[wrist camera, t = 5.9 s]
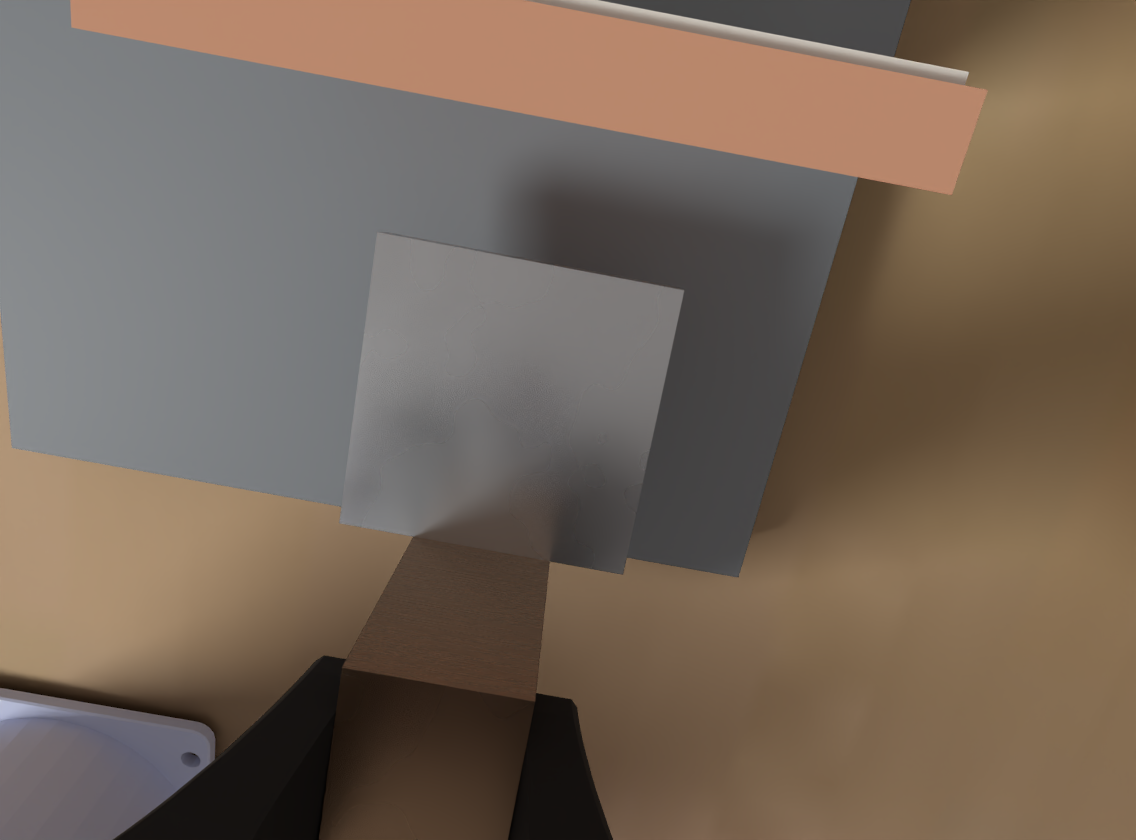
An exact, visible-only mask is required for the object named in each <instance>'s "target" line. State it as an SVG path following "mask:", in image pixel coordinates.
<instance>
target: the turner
mask: <svg viewBox="0 0 1136 840" xmlns="http://www.w3.org/2000/svg"><path fill="white" fill-rule="evenodd" d="M683 294H684V290H683V289H682V288H680V287H675V286H669V285H664V284H659V283H653V282H648V281H643V280H638V279H632V278H627V277H622V276H617V275H611V274H606V273H601V272H595V271H590V270H585V269H580V268H574V267H569V266H564V265H559V264H553V263H548V262H543V261H538V260H532V259H527V258H522V257H516V256H511V255H506V254H501V253H495V252H490V251H485V250H480V249H474V248H469V247H464V246H458V245H453V244H448V243H443V242H437V241H432V240H427V239H422V238H416V237H411V236H406V235H400V234H395V233H390V232H377V237H376V245H375V252H374V260H373V268H372V275H371V283H370V291H369V299H368V306H367V314H366V322H365V329H364V337H363V345H362V352H361V360H360V368H359V376H358V383H357V391H356V399H355V406H354V414H353V422H352V430H351V437H350V445H349V453H348V460H347V468H346V476H345V483H344V491H343V499H342V507H341V514H340V522H339V523H341V524H347V525H352V526H358V527H363V528H369V529H374V530H380V531H385V532H391V533H396V534H402V535H407V536H413V538H412V540H411V542H410V544H409V546H408V548H407V549H406V551H405V553H404V555H403V557H402V559H401V560H400V562H399V564H398V566H397V568H396V570H395V571H394V573H393V575H392V577H391V579H390V581H389V582H388V584H387V586H386V588H385V590H384V592H383V593H382V595H381V597H380V599H379V601H378V603H377V604H376V606H375V608H374V610H373V612H372V614H371V615H370V617H369V619H368V621H367V623H366V625H365V626H364V628H363V630H362V632H361V634H360V636H359V637H358V639H357V641H356V643H355V645H354V647H353V648H352V650H351V652H350V654H349V656H348V658H347V659H346V661H345V663H344V665H343V667H342V672H341V679H340V686H339V694H338V701H337V708H336V716H335V723H334V730H333V738H332V745H331V752H330V760H329V767H328V774H327V782H326V789H325V796H324V804H323V811H322V818H321V826H320V833H319V840H508V836H509V831H510V826H511V821H512V816H513V811H514V806H515V801H516V796H517V791H518V786H519V780H520V775H521V770H522V765H523V760H524V755H525V750H526V745H527V740H528V735H529V730H530V725H531V720H532V715H533V710H534V705H535V697H536V688H537V678H538V668H539V659H540V649H541V640H542V630H543V620H544V611H545V601H546V591H547V582H548V572H549V562H550V561H551V562H556V563H562V564H567V565H573V566H578V567H584V568H589V569H595V570H600V571H606V572H611V573H617V574H622V575H623V572H624V567H625V563H626V558H627V553H628V549H629V544H630V540H631V535H632V530H633V526H634V521H635V516H636V512H637V507H638V503H639V498H640V493H641V489H642V484H643V479H644V475H645V470H646V465H647V461H648V456H649V452H650V447H651V442H652V438H653V433H654V428H655V424H656V419H657V415H658V410H659V405H660V401H661V396H662V391H663V387H664V382H665V378H666V373H667V368H668V364H669V359H670V354H671V350H672V345H673V341H674V336H675V331H676V327H677V322H678V317H679V313H680V308H681V304H682V299H683Z"/></svg>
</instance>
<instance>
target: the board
mask: <svg viewBox="0 0 1136 840" xmlns="http://www.w3.org/2000/svg"><path fill="white" fill-rule="evenodd" d="M600 1H605V2H610V3H615V4H621V5H626V6H631V7H636V8H641V9H646V10H651V11H657V12H662V13H667V14H672V15H677V16H682V17H688V18H693V19H698V20H703V21H708V22H713V23H719V24H724V25H729V26H734V27H739V28H744V29H749V30H755V31H760V32H765V33H770V34H775V35H780V36H786V37H791V38H796V39H801V40H806V41H811V42H817V43H822V44H827V45H832V46H837V47H842V48H847V49H853V50H858V51H863V52H868V53H873V54H878V55H884V56H889V57H894V55H895V52H896V49H897V45H898V42H899V39H900V35H901V32H902V29H903V25H904V22H905V18H906V15H907V12H908V8H909V5H910V2H911V0H600ZM857 179H858V177H854V176H849V175H844V174H839V173H833V172H828V171H823V170H818V169H812V168H807V167H802V166H797V165H791V164H786V163H781V162H776V161H770V160H765V159H760V158H755V157H749V156H744V155H739V154H734V153H728V152H723V151H718V150H713V149H707V148H702V147H697V146H691V145H686V144H681V143H676V142H670V141H665V140H660V139H655V138H649V137H644V136H639V135H634V134H628V133H623V132H618V131H613V130H607V129H602V128H597V127H592V126H586V125H581V124H576V123H571V122H565V121H560V120H555V119H550V118H544V117H539V116H534V115H529V114H523V113H518V112H513V111H508V110H502V109H497V108H492V107H487V106H481V105H476V104H471V103H466V102H460V101H455V100H450V99H445V98H439V97H434V96H429V95H424V94H418V93H413V92H408V91H402V90H397V89H392V88H387V87H381V86H376V85H371V84H366V83H360V82H355V81H350V80H345V79H339V78H334V77H329V76H324V75H318V74H313V73H308V72H303V71H297V70H292V69H287V68H282V67H276V66H271V65H266V64H261V63H255V62H250V61H245V60H240V59H234V58H229V57H224V56H219V55H213V54H208V53H203V52H198V51H192V50H187V49H182V48H177V47H171V46H166V45H161V44H156V43H150V42H145V41H140V40H135V39H129V38H124V37H119V36H114V35H108V34H103V33H98V32H92V31H87V30H82V29H77V28H71V7H70V0H0V312H1V324H2V335H3V347H4V359H5V371H6V383H7V395H8V407H9V418H10V430H11V442H12V448H16V449H21V450H27V451H32V452H38V453H44V454H49V455H55V456H60V457H66V458H72V459H77V460H83V461H88V462H94V463H100V464H105V465H111V466H116V467H122V468H128V469H133V470H139V471H145V472H150V473H156V474H161V475H167V476H173V477H178V478H184V479H189V480H195V481H201V482H206V483H212V484H217V485H223V486H229V487H234V488H240V489H245V490H251V491H257V492H262V493H268V494H273V495H279V496H285V497H290V498H296V499H301V500H307V501H313V502H318V503H324V504H329V505H335V506H341V507H342V499H343V491H344V483H345V476H346V468H347V460H348V453H349V445H350V437H351V430H352V422H353V414H354V406H355V399H356V391H357V383H358V376H359V368H360V360H361V352H362V345H363V337H364V329H365V322H366V314H367V306H368V299H369V291H370V283H371V275H372V268H373V260H374V252H375V245H376V237H377V232H390V233H395V234H400V235H406V236H411V237H416V238H422V239H427V240H432V241H437V242H443V243H448V244H453V245H458V246H464V247H469V248H474V249H480V250H485V251H490V252H495V253H501V254H506V255H511V256H516V257H522V258H527V259H532V260H538V261H543V262H548V263H553V264H559V265H564V266H569V267H574V268H580V269H585V270H590V271H595V272H601V273H606V274H611V275H617V276H622V277H627V278H632V279H638V280H643V281H648V282H653V283H659V284H664V285H669V286H675V287H680V288H682V289H683V290H684V294H683V299H682V304H681V308H680V313H679V317H678V322H677V327H676V331H675V336H674V341H673V345H672V350H671V354H670V359H669V364H668V368H667V373H666V378H665V382H664V387H663V391H662V396H661V401H660V405H659V410H658V415H657V419H656V424H655V428H654V433H653V438H652V442H651V447H650V452H649V456H648V461H647V465H646V470H645V475H644V479H643V484H642V489H641V493H640V498H639V503H638V507H637V512H636V516H635V521H634V526H633V530H632V535H631V540H630V544H629V549H628V553H627V558H632V559H638V560H643V561H649V562H655V563H660V564H666V565H671V566H677V567H683V568H688V569H694V570H699V571H705V572H711V573H716V574H722V575H727V576H733V577H739V573H740V570H741V567H742V563H743V560H744V557H745V553H746V550H747V547H748V543H749V540H750V537H751V533H752V530H753V527H754V523H755V520H756V517H757V513H758V510H759V507H760V503H761V500H762V497H763V493H764V490H765V487H766V483H767V480H768V476H769V473H770V470H771V466H772V463H773V460H774V456H775V453H776V450H777V446H778V443H779V440H780V436H781V433H782V430H783V426H784V423H785V420H786V416H787V413H788V410H789V406H790V403H791V400H792V396H793V393H794V390H795V386H796V383H797V380H798V376H799V373H800V370H801V366H802V363H803V359H804V356H805V353H806V349H807V346H808V343H809V339H810V336H811V333H812V329H813V326H814V323H815V319H816V316H817V313H818V309H819V306H820V303H821V299H822V296H823V293H824V289H825V286H826V283H827V279H828V276H829V273H830V269H831V266H832V263H833V259H834V256H835V252H836V249H837V246H838V242H839V239H840V236H841V232H842V229H843V226H844V222H845V219H846V216H847V212H848V209H849V206H850V202H851V199H852V196H853V192H854V189H855V186H856V182H857Z"/></svg>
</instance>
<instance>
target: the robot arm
mask: <svg viewBox="0 0 1136 840" xmlns="http://www.w3.org/2000/svg"><path fill="white" fill-rule="evenodd" d="M345 661H346V659H340V658H335V657H329V656H323V657H321V658H320V659H318V660H316V661H315V662H314V663H313V664H312V666H311V667H310V668H309V669H308V670H307V671H306V672H305V673H304V674H303V675H302V676H301V677H300V678H299V680H298V681H297V682H296V683H295V684H294V685H293V686H292V687H291V688H290V689H289V690H288V691H287V692H286V693H285V694H284V695H283V696H282V697H281V698H280V699H279V700H278V701H277V702H276V703H275V704H274V705H273V706H272V707H271V708H270V709H269V710H268V711H267V712H266V713H265V714H264V715H263V716H262V717H261V718H260V719H259V720H258V721H256V722H255V723H254V724H253V725H252V726H251V727H250V728H249V729H248V730H247V731H246V732H244V733H243V734H242V735H241V736H240V737H239V738H238V739H237V740H236V741H235V742H234V743H233V744H231V745H230V746H229V747H228V748H227V749H226V750H225V751H224V752H223V753H222V754H220V755H219V756H218V757H217V758H216V759H215V736H214V733H213V732H212V730H211V729H210V728H209V727H208V726H206V725H205V724H203V723H200V722H196V721H190V720H184V719H178V718H173V717H167V716H161V715H155V714H149V713H144V712H138V711H132V710H126V709H120V708H114V707H109V706H103V705H97V704H91V703H85V702H80V701H74V700H68V699H62V698H56V697H50V696H45V695H39V694H33V693H27V692H21V691H15V690H10V689H4V688H0V840H319V833H320V826H321V818H322V811H323V804H324V796H325V789H326V782H327V774H328V767H329V760H330V752H331V745H332V738H333V730H334V723H335V716H336V708H337V701H338V694H339V686H340V679H341V672H342V667H343V665H344V663H345ZM190 752H191V753H194V754H196V755H197V756H195V755H192V754H191V753H190ZM508 840H613V838H612V835H611V833H610V830H609V827H608V824H607V821H606V818H605V815H604V812H603V809H602V806H601V803H600V800H599V798H598V795H597V791H596V788H595V785H594V782H593V778H592V775H591V771H590V767H589V764H588V760H587V756H586V753H585V748H584V744H583V740H582V735H581V730H580V725H579V719H578V712H577V707H576V705H575V704H574V702H573V701H572V700H571V699H566V698H560V697H555V696H549V695H543V694H538V693H536V697H535V705H534V710H533V715H532V720H531V725H530V730H529V735H528V740H527V745H526V750H525V755H524V760H523V765H522V770H521V775H520V780H519V786H518V791H517V796H516V801H515V806H514V811H513V816H512V821H511V826H510V831H509V836H508Z"/></svg>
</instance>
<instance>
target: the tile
mask: <svg viewBox="0 0 1136 840" xmlns="http://www.w3.org/2000/svg"><path fill="white" fill-rule="evenodd" d="M70 7H71V28H77V29H82V30H87V31H92V32H98V33H103V34H108V35H114V36H119V37H124V38H129V39H135V40H140V41H145V42H150V43H156V44H161V45H166V46H171V47H177V48H182V49H187V50H192V51H198V52H203V53H208V54H213V55H219V56H224V57H229V58H234V59H240V60H245V61H250V62H255V63H261V64H266V65H271V66H276V67H282V68H287V69H292V70H297V71H303V72H308V73H313V74H318V75H324V76H329V77H334V78H339V79H345V80H350V81H355V82H360V83H366V84H371V85H376V86H381V87H387V88H392V89H397V90H402V91H408V92H413V93H418V94H424V95H429V96H434V97H439V98H445V99H450V100H455V101H460V102H466V103H471V104H476V105H481V106H487V107H492V108H497V109H502V110H508V111H513V112H518V113H523V114H529V115H534V116H539V117H544V118H550V119H555V120H560V121H565V122H571V123H576V124H581V125H586V126H592V127H597V128H602V129H607V130H613V131H618V132H623V133H628V134H634V135H639V136H644V137H649V138H655V139H660V140H665V141H670V142H676V143H681V144H686V145H691V146H697V147H702V148H707V149H713V150H718V151H723V152H728V153H734V154H739V155H744V156H749V157H755V158H760V159H765V160H770V161H776V162H781V163H786V164H791V165H797V166H802V167H807V168H812V169H818V170H823V171H828V172H833V173H839V174H844V175H849V176H854V177H860V178H865V179H870V180H875V181H881V182H886V183H891V184H896V185H902V186H907V187H912V188H917V189H923V190H928V191H933V192H938V193H944V194H949V195H952V193H953V190H954V187H955V184H956V182H957V179H958V176H959V173H960V170H961V167H962V164H963V161H964V158H965V155H966V152H967V149H968V147H969V144H970V141H971V138H972V135H973V132H974V129H975V126H976V123H977V120H978V117H979V114H980V112H981V109H982V106H983V103H984V100H985V97H986V94H987V91H988V90H985V89H980V88H975V87H970V86H965V83H966V80H967V77H968V74H969V72H966V71H961V70H956V69H951V68H945V67H940V66H935V65H930V64H925V63H920V62H915V61H909V60H904V59H899V58H894V57H889V56H884V55H878V54H873V53H868V52H863V51H858V50H853V49H847V48H842V47H837V46H832V45H827V44H822V43H817V42H811V41H806V40H801V39H796V38H791V37H786V36H780V35H775V34H770V33H765V32H760V31H755V30H749V29H744V28H739V27H734V26H729V25H724V24H719V23H713V22H708V21H703V20H698V19H693V18H688V17H682V16H677V15H672V14H667V13H662V12H657V11H651V10H646V9H641V8H636V7H631V6H626V5H621V4H615V3H610V2H605V1H600V0H70Z"/></svg>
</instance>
